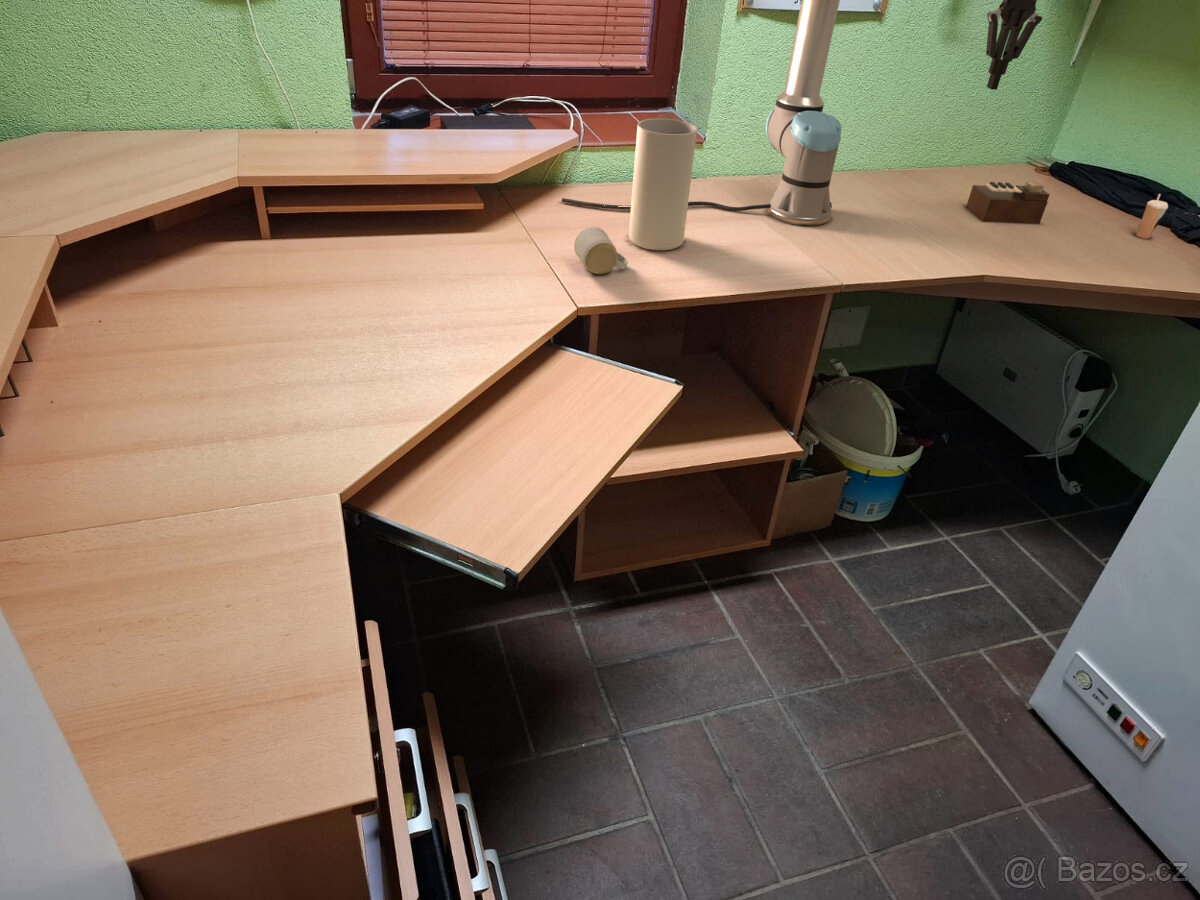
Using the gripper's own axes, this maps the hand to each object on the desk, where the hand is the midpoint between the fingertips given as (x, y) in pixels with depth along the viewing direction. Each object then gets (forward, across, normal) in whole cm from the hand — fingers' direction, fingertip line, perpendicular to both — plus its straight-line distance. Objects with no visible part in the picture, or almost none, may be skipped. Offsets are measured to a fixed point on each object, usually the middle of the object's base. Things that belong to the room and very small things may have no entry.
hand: (991, 88), depth 204 cm
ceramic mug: (+29, +99, +55) cm, 117 cm away
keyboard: (+21, -4, +13) cm, 25 cm away
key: (+21, -12, +13) cm, 28 cm away
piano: (+28, -8, +11) cm, 31 cm away
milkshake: (+28, -40, +22) cm, 54 cm away
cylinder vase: (+29, +86, +39) cm, 99 cm away
